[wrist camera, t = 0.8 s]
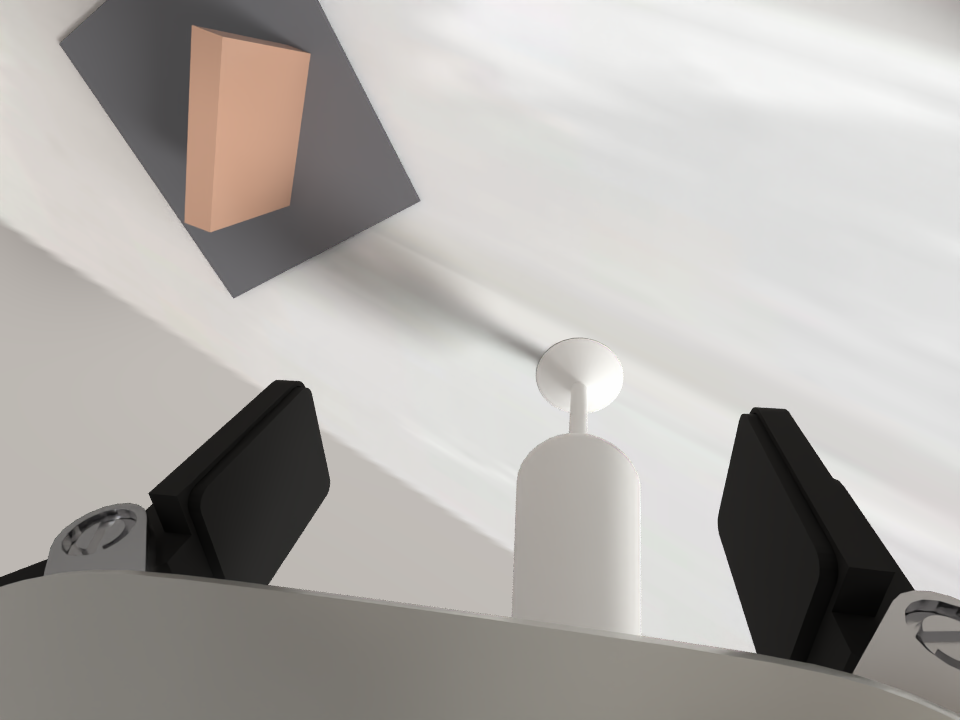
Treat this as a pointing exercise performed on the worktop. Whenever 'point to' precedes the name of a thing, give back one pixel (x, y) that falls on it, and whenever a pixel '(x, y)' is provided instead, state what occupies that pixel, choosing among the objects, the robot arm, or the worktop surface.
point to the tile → (241, 127)
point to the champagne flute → (578, 505)
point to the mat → (322, 141)
